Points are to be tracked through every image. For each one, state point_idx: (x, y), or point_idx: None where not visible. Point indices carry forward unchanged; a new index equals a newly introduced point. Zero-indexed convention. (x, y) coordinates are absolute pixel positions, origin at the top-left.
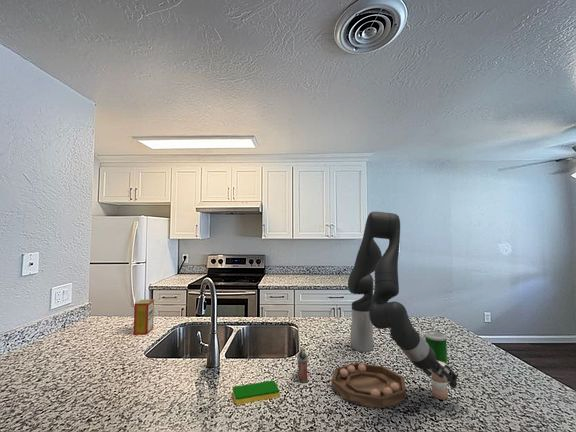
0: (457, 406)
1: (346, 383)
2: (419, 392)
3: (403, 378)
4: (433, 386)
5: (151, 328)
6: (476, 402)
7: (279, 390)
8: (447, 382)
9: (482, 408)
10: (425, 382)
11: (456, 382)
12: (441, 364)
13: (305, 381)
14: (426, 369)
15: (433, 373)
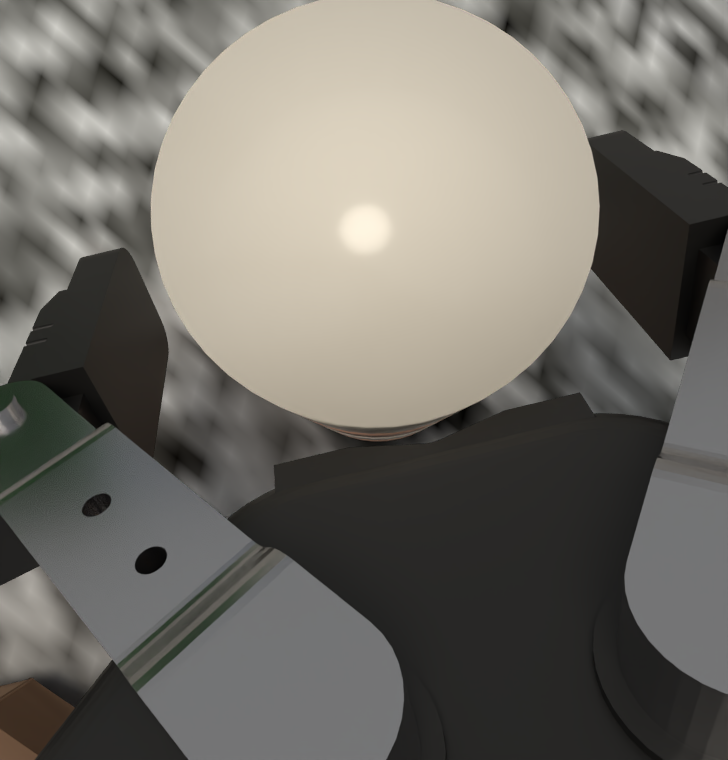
0: (630, 318)
1: None
2: None
3: (8, 748)
4: (374, 439)
5: None
6: (601, 39)
7: None
8: (666, 343)
9: (721, 72)
10: (42, 295)
11: (701, 174)
12: (452, 172)
13: None
14: (128, 411)
15: (382, 433)
